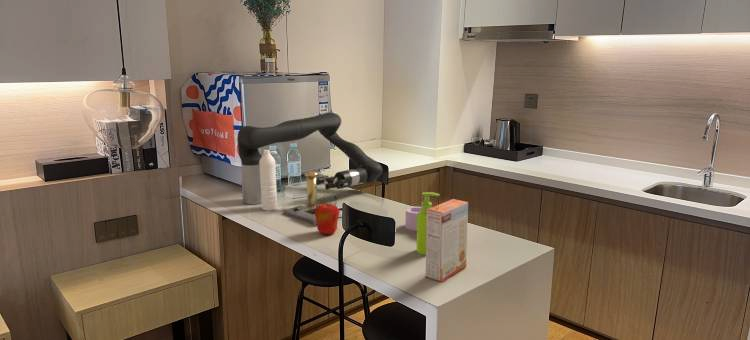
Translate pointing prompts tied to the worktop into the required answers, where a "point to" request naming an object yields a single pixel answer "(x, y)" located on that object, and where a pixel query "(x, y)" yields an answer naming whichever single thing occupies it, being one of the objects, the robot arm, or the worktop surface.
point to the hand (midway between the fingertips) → (319, 185)
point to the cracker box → (446, 239)
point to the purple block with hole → (412, 218)
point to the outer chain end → (308, 214)
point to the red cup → (327, 218)
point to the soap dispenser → (423, 222)
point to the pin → (311, 188)
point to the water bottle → (268, 181)
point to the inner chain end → (293, 213)
